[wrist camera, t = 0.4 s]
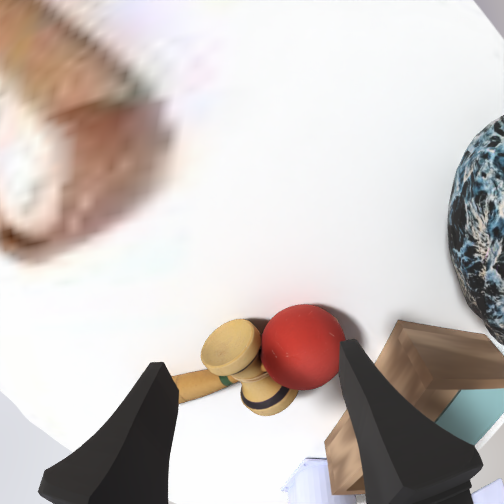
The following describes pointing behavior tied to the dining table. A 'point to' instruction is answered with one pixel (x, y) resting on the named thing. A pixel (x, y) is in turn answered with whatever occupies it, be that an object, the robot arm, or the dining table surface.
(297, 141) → the dining table surface
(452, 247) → the decorative stone
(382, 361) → the crate
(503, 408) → the lid
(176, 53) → the dining table surface
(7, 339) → the dining table surface
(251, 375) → the kendama
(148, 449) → the robot arm
